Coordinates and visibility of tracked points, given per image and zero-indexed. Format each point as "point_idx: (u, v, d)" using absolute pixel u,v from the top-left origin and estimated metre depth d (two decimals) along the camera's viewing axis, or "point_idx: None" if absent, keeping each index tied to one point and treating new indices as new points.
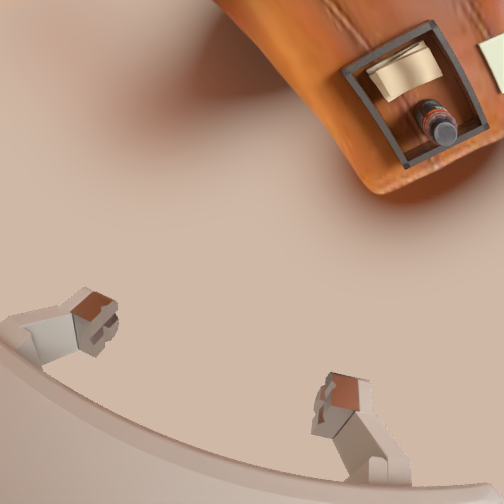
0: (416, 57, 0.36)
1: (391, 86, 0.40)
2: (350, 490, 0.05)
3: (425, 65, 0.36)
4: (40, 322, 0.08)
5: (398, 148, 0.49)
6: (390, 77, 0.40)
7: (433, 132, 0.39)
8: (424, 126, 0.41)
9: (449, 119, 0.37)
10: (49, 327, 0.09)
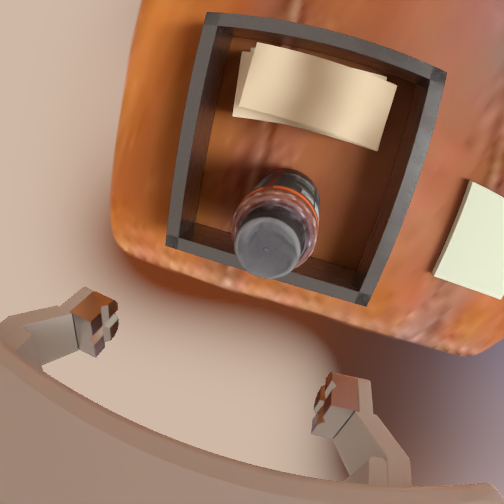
0: (355, 79, 0.18)
1: (258, 86, 0.20)
2: (350, 490, 0.05)
3: (360, 105, 0.19)
4: (40, 322, 0.08)
5: (179, 204, 0.27)
6: (272, 70, 0.19)
7: (243, 223, 0.19)
8: (243, 201, 0.21)
9: (305, 230, 0.19)
10: (49, 327, 0.09)
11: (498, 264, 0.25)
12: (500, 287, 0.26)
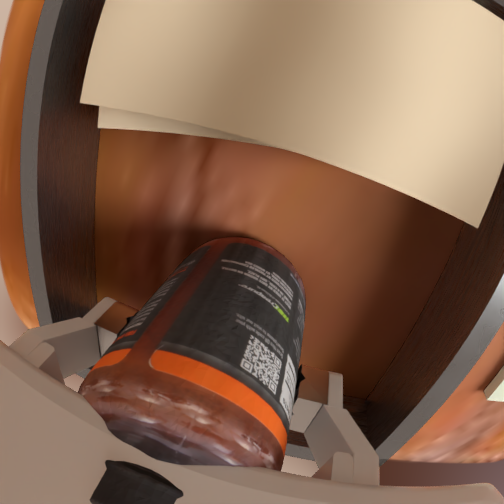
0: None
1: (123, 39, 0.06)
2: (350, 490, 0.05)
3: (443, 81, 0.05)
4: (63, 335, 0.08)
5: (45, 304, 0.12)
6: None
7: None
8: None
9: None
10: (72, 340, 0.09)
11: None
12: None
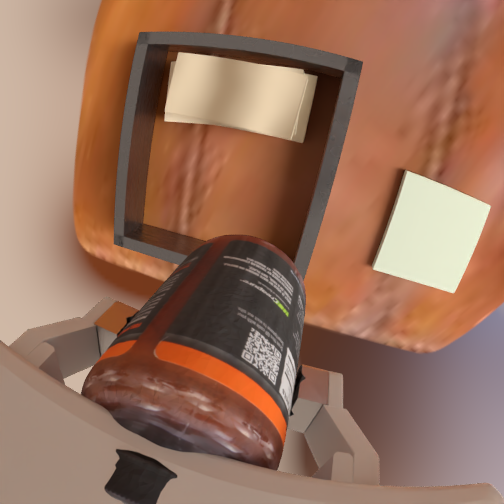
0: (265, 75, 0.20)
1: (180, 92, 0.21)
2: (350, 490, 0.05)
3: (271, 99, 0.21)
4: (63, 335, 0.08)
5: (122, 206, 0.28)
6: (191, 76, 0.21)
7: None
8: None
9: None
10: (72, 340, 0.09)
11: (446, 256, 0.27)
12: (451, 280, 0.28)
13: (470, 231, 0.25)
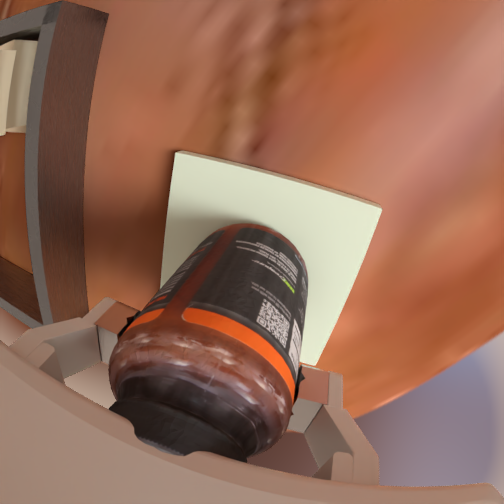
0: None
1: None
2: (350, 490, 0.05)
3: None
4: (63, 335, 0.08)
5: None
6: None
7: None
8: (121, 339, 0.08)
9: (256, 429, 0.07)
10: (72, 340, 0.09)
11: None
12: (305, 346, 0.17)
13: (333, 261, 0.15)
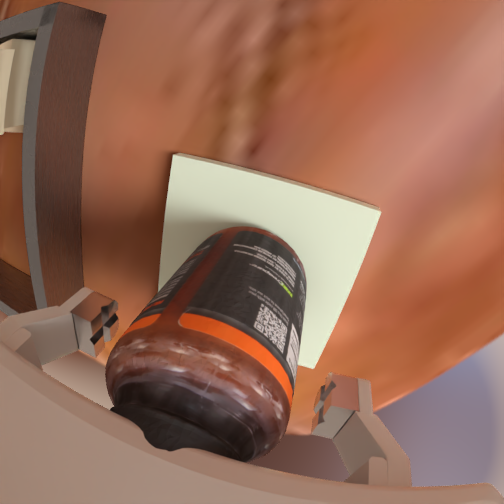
0: None
1: None
2: (350, 490, 0.05)
3: None
4: (40, 322, 0.08)
5: None
6: None
7: None
8: None
9: (253, 435, 0.07)
10: (49, 327, 0.09)
11: None
12: (304, 349, 0.17)
13: (332, 264, 0.15)
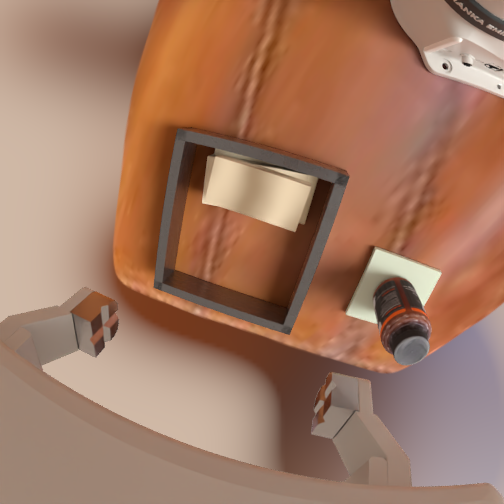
0: (281, 184, 0.31)
1: (216, 189, 0.32)
2: (350, 490, 0.05)
3: (284, 202, 0.31)
4: (40, 322, 0.08)
5: (162, 262, 0.39)
6: (225, 178, 0.32)
7: (402, 338, 0.28)
8: (394, 318, 0.30)
9: (427, 336, 0.29)
10: (49, 327, 0.09)
11: None
12: None
13: (423, 290, 0.37)
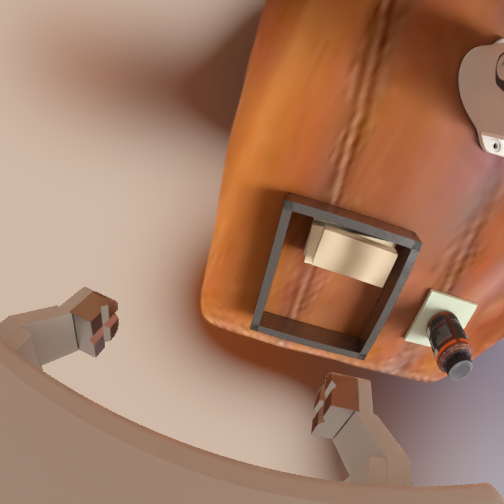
0: (376, 252, 0.37)
1: (323, 255, 0.39)
2: (350, 490, 0.05)
3: (376, 266, 0.38)
4: (40, 322, 0.08)
5: (261, 309, 0.46)
6: (332, 246, 0.38)
7: (455, 362, 0.34)
8: (448, 347, 0.36)
9: None
10: (49, 327, 0.09)
11: None
12: None
13: (463, 319, 0.43)
